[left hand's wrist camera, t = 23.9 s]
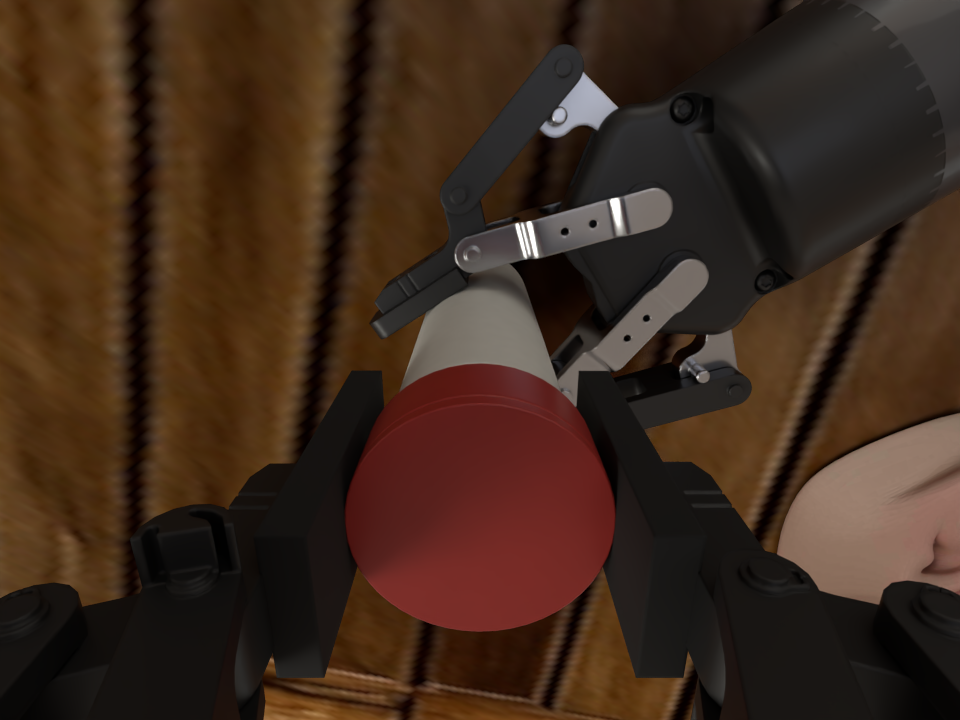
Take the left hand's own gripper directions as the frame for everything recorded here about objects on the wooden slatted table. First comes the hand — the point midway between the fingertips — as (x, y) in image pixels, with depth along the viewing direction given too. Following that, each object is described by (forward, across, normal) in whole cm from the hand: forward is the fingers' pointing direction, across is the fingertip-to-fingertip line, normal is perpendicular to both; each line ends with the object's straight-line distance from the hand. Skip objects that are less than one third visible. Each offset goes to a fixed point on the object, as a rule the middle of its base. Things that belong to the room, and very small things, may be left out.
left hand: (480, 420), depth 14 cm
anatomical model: (+13, +22, -12) cm, 28 cm away
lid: (-4, 0, 0) cm, 4 cm away
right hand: (+6, -2, -2) cm, 7 cm away
